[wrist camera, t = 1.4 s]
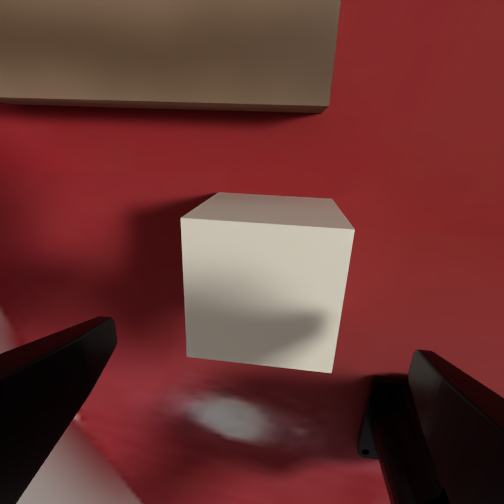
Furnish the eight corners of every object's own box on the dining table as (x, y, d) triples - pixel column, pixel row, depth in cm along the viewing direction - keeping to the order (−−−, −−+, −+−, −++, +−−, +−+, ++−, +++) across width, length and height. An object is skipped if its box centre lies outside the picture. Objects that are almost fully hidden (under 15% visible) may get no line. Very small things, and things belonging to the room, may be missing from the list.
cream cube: (318, 300, 18) (331, 373, 12) (218, 291, 18) (186, 356, 13) (331, 198, 16) (354, 229, 10) (218, 192, 16) (180, 218, 11)
